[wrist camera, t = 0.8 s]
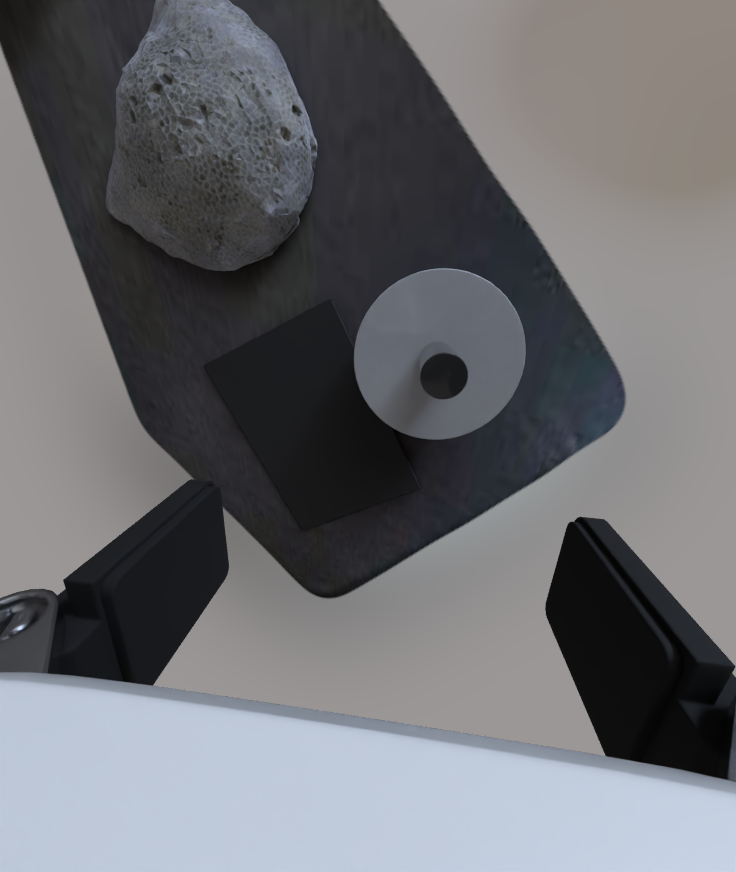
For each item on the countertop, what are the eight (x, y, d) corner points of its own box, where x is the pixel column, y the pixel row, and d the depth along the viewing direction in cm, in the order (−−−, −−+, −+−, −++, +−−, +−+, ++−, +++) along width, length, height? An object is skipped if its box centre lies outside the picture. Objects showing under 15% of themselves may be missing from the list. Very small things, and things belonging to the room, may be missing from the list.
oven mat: (206, 364, 35) (203, 365, 35) (331, 298, 32) (330, 298, 31) (304, 527, 41) (302, 530, 40) (420, 485, 37) (420, 488, 37)
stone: (143, -98, 22) (325, 32, 20) (225, 20, 29) (364, 124, 27) (43, 179, 27) (182, 302, 25) (134, 221, 34) (247, 319, 33)
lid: (368, 257, 24) (353, 242, 18) (543, 284, 24) (591, 278, 17) (346, 420, 28) (328, 453, 22) (495, 446, 28) (519, 488, 22)
